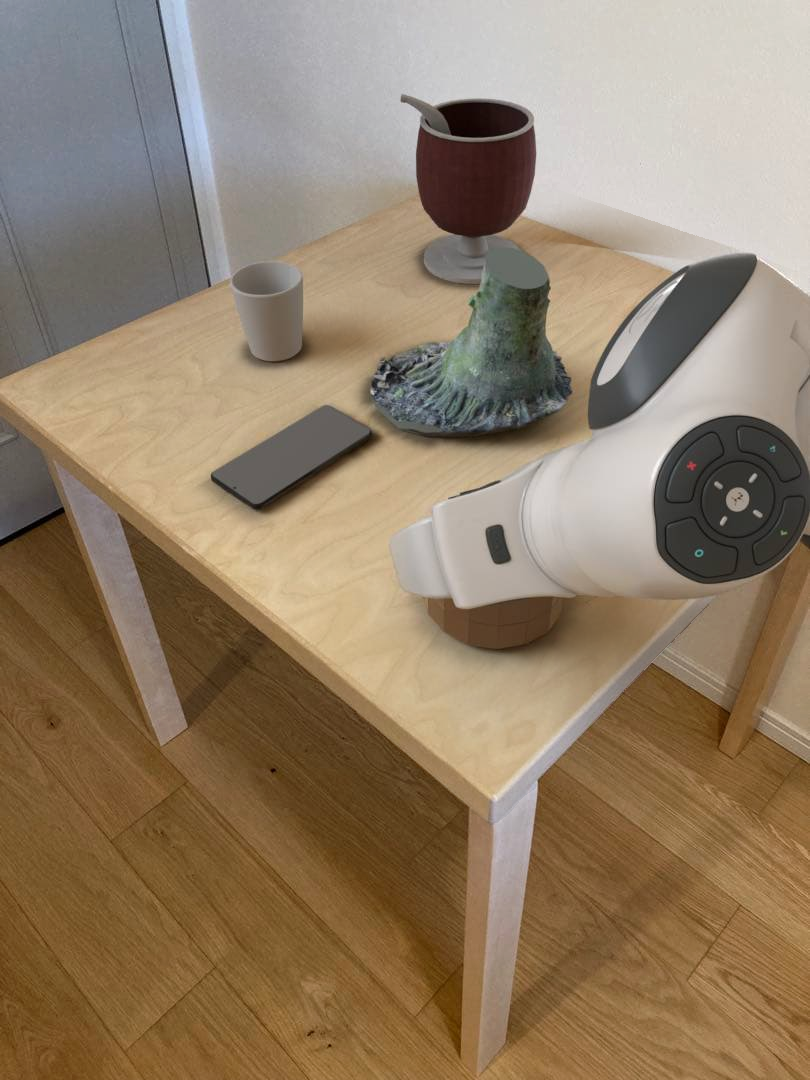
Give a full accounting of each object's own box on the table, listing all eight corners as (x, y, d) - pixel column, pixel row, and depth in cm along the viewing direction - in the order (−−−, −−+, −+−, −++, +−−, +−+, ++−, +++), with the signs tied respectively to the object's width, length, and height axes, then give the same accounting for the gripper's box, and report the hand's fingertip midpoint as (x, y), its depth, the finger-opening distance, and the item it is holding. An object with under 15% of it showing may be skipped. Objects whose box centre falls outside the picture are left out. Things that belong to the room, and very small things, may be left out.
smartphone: (374, 430, 86) (255, 506, 79) (375, 437, 87) (257, 514, 79) (325, 402, 90) (207, 473, 82) (326, 409, 90) (208, 480, 83)
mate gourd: (518, 232, 118) (530, 67, 104) (536, 284, 108) (551, 109, 94) (401, 238, 117) (396, 73, 103) (408, 291, 107) (404, 117, 93)
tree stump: (418, 330, 102) (459, 181, 89) (574, 410, 98) (641, 268, 85) (335, 409, 90) (368, 251, 77) (510, 504, 86) (577, 355, 73)
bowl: (539, 542, 76) (545, 489, 72) (580, 640, 68) (589, 587, 64) (412, 561, 75) (411, 508, 71) (439, 663, 67) (440, 611, 63)
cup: (240, 370, 96) (227, 298, 90) (243, 321, 103) (232, 252, 97) (311, 365, 96) (303, 293, 90) (309, 317, 104) (302, 247, 98)
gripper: (724, 427, 55) (622, 455, 68) (408, 510, 50) (366, 522, 64) (749, 527, 55) (643, 536, 68) (436, 618, 50) (389, 608, 64)
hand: (507, 530), depth 66 cm, fingers open, 8 cm apart
